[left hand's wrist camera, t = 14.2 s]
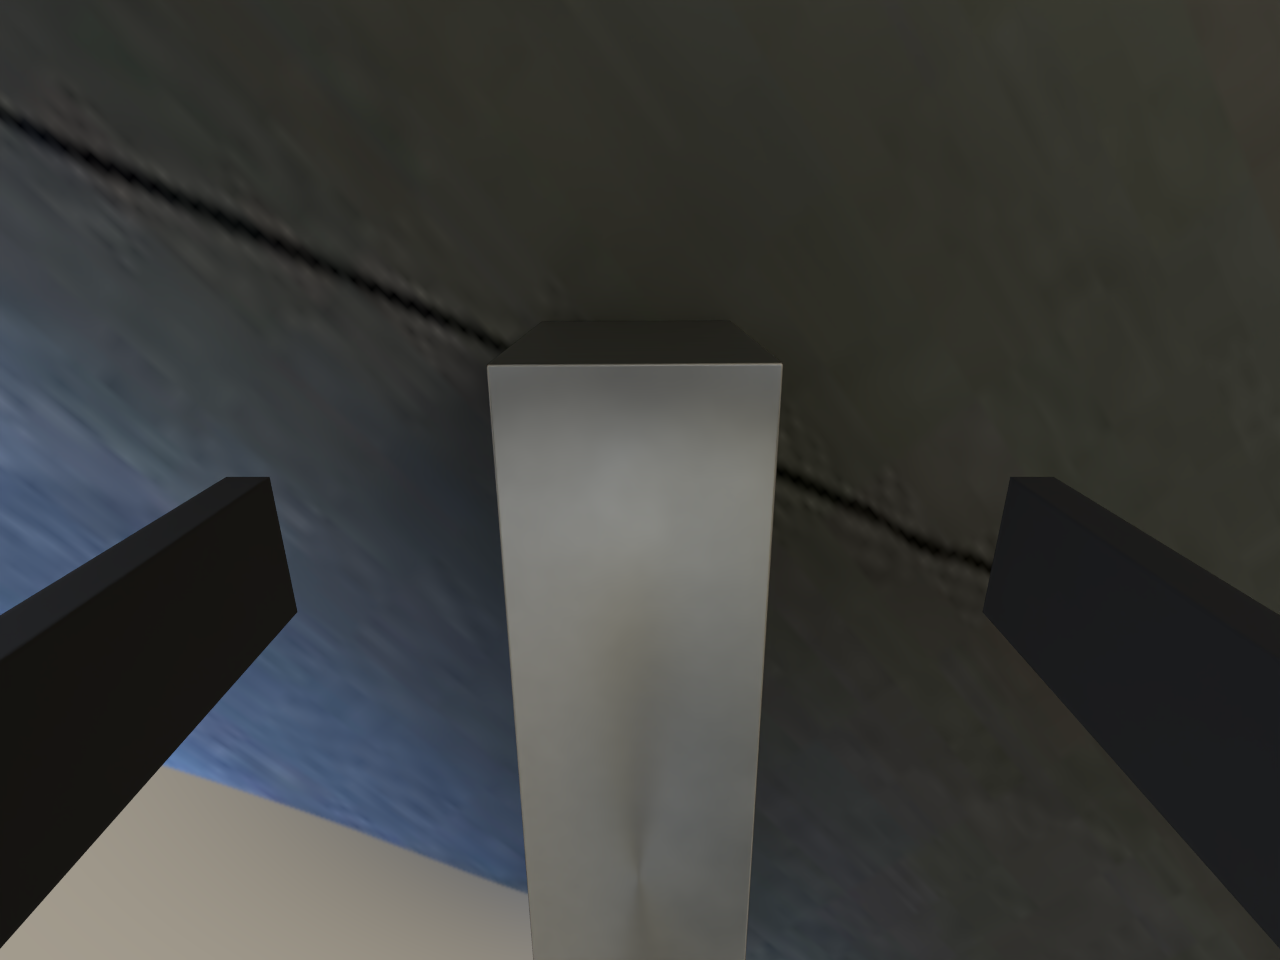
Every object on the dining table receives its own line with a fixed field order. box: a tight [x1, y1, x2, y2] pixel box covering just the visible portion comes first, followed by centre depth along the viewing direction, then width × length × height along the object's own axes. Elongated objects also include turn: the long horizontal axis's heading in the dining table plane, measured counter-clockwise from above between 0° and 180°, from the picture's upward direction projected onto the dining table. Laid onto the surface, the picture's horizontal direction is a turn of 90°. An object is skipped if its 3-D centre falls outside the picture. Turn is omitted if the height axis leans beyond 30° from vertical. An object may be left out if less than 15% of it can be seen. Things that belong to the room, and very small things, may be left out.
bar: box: [487, 321, 783, 960], centre depth 22 cm, size 27×6×8 cm, turn 0°
